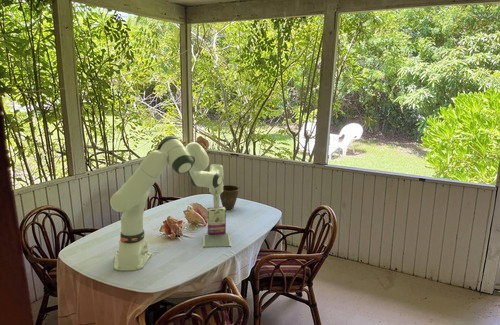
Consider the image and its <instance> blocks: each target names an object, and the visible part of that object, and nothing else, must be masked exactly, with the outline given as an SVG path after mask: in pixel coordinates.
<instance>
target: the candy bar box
mask: <svg viewBox="0 0 500 325" xmlns="http://www.w3.org/2000/svg"><path fill="white" fill-rule="evenodd" d="M206 211H207V216H206V217H207V218H206V219H207V222H206V223H207V235H221V234H226V231H227V228H226V226H227V223H226V222H227V221H226V219H227V218H226V217H227V213H226V212H227V210H226V209H225V207H223V206H219V208H214V207H207V210H206Z"/></svg>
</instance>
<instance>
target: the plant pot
mask: <svg viewBox="0 0 500 325" xmlns="http://www.w3.org/2000/svg"><path fill="white" fill-rule="evenodd" d="M239 190H240V188H239V186H236V185H230V184H225V185H224V184H223V192H222V193H221V194H220V195H219V196H220V202H221V203H220V204H221V205H222V206H221V207H225V209H226V211H231V209H232V210H234V208H235V205H236V203H237V199H238V196H239Z"/></svg>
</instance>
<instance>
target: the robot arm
mask: <svg viewBox="0 0 500 325" xmlns="http://www.w3.org/2000/svg"><path fill="white" fill-rule="evenodd" d="M209 164H210V157H209V155H208V153H207V151H206V150H205V148H204V147H203V146H202V145H201V144H200V143H198V142H196V141H193V142H191V141H190V142H189V143H187V144H186V145H185V146H184V143H182V141H181V140H180V139H179V138H178V136H176V135H167V136H165V137H164V138H163V139H162V140H161V141H160V143H159V144H158V146H157V149H155V150H152V151H150V152H149V154H148V155H146V157H144V159H143V160H142V161H141V163H140V164H139V165H138V167H137V169H136V170H135V171H134V173H133V174H132V175H130V177H129V178H128V179H127V180H126V181H125V182H124V183H123V184H122V186H120V188H119V189H118V190H117V191H116V192H115V193H114V194H112V196H111V197H110V200H109V203H110V206H111V208H112V210H114V211H115V212H118V213H122V215H121V217H120V235H119V236H120V238H119V241H118V250H117V252H116V253H115V254H114V263H113V269H114V270H115V271H123V272H124V271H137V270H140V269H143V268H144V266H145V265H146V263H148V261H149V260H150V258H151V257H152V252H150V251H149V246H148V244H149V243H148V240H147V239H146V238H145V229H144V214H145V208H146V204H147V200H148V198H149V196H150V192H151V190H150V189H152V187H153V186H154V184H155V183H156V182H157V180H158V179H159V178H160V176H161V175H162V174H163V172H164V170H165V168H166V167H168V165H169V166H171V169H172V170H173V171H174V172H175V173H177V174H180V175H181V174H186V173H187V174H188V176H189V179H190V183H191V186H193V187H198V188H199V187H201V188H209V189H208V190H209V191H208V192H209V193H210V194H211V195H212V202H213V204H212V205H213V208H219V207H221V206H220V204H221V203H220V202H221V199H220V194H221V193H222V192H223V186H224V167H223V165H222V164H220V163H211V164H210V166H209ZM208 167H209V171H205V170H206V169H207V168H208Z"/></svg>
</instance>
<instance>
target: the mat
mask: <svg viewBox="0 0 500 325" xmlns="http://www.w3.org/2000/svg"><path fill="white" fill-rule="evenodd" d="M202 235H203V236H202V237H203V238H202V239H203V240H202V247H203V248H231V247H232V243H231V237H230V234H229V233H228V234H215V235H208V234H202Z"/></svg>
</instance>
